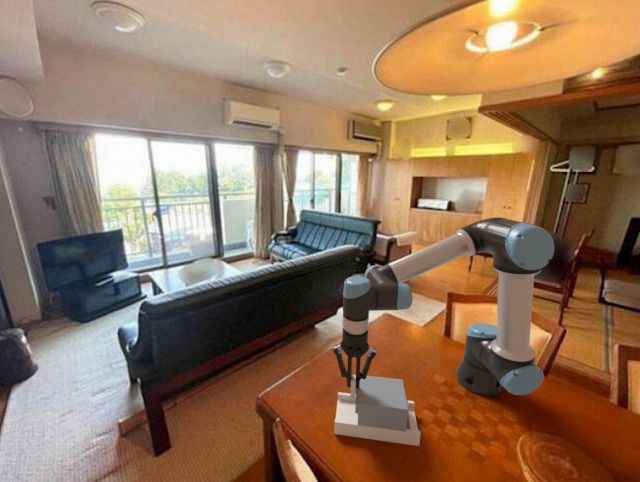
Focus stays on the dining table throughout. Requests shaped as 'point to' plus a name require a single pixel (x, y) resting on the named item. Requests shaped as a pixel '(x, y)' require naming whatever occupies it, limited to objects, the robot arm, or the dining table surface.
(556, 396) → the dining table surface
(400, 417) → the lid
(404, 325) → the dining table surface
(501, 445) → the dining table surface
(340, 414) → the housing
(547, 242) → the robot arm
